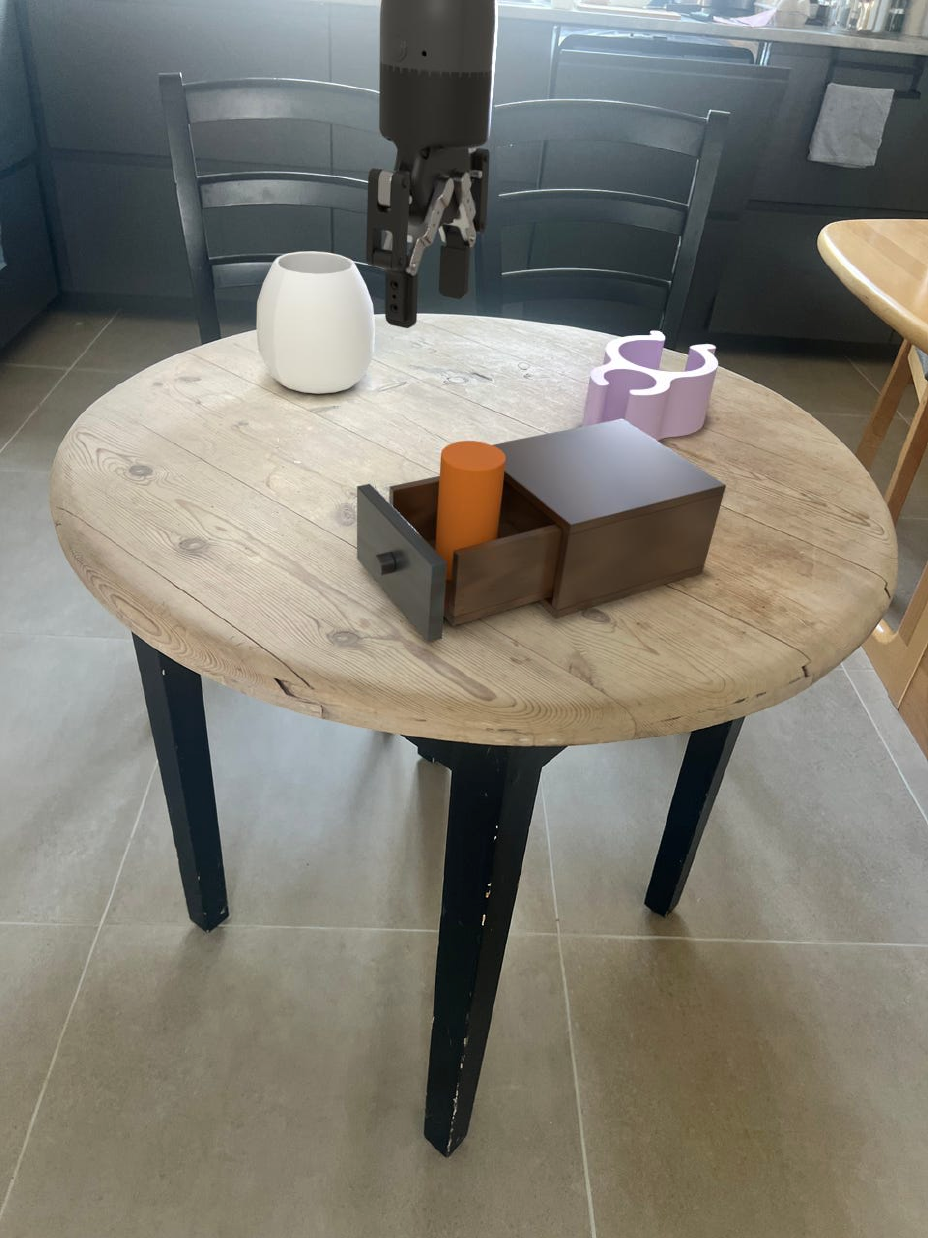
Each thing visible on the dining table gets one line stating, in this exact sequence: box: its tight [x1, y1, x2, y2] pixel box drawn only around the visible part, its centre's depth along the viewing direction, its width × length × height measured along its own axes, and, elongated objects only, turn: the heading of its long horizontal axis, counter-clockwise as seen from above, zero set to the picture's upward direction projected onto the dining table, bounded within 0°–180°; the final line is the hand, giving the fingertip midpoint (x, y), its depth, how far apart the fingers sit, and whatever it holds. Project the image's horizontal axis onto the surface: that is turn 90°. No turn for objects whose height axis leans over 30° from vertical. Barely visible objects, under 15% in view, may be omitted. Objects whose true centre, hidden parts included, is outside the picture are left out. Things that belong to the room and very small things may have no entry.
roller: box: [435, 440, 506, 581], centre depth 70 cm, size 5×5×10 cm
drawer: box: [356, 475, 564, 643], centre depth 72 cm, size 16×12×7 cm
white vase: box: [256, 250, 376, 395], centre depth 102 cm, size 13×13×14 cm
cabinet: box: [492, 419, 727, 619], centre depth 77 cm, size 16×14×9 cm
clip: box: [581, 330, 719, 442], centre depth 101 cm, size 20×12×7 cm, turn 148°
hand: (428, 309), depth 69 cm, fingers open, 8 cm apart
